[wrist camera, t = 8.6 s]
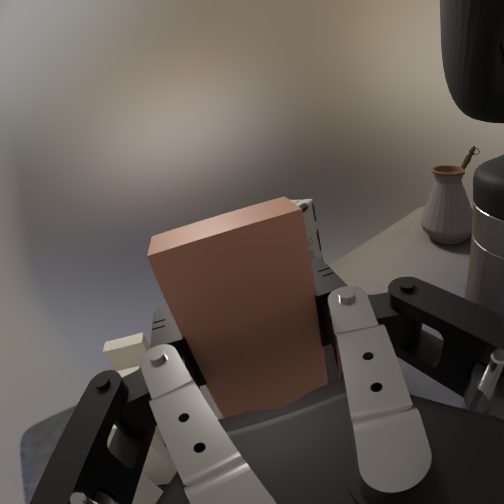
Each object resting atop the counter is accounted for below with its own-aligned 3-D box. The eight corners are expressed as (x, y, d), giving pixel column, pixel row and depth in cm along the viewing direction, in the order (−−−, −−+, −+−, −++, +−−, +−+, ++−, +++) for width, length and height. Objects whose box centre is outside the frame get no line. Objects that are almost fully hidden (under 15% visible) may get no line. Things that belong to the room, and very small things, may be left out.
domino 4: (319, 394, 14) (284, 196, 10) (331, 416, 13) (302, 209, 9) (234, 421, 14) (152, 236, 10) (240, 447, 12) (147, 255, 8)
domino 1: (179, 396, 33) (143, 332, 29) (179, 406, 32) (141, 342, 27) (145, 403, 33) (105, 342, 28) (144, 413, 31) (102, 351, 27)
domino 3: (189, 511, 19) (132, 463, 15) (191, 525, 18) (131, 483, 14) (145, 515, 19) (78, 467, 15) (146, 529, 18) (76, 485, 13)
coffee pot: (460, 255, 44) (462, 167, 38) (409, 238, 54) (405, 159, 48) (497, 217, 52) (498, 148, 46) (456, 206, 61) (453, 143, 55)
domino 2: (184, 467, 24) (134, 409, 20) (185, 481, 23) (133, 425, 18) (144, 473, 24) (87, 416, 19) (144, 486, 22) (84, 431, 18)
